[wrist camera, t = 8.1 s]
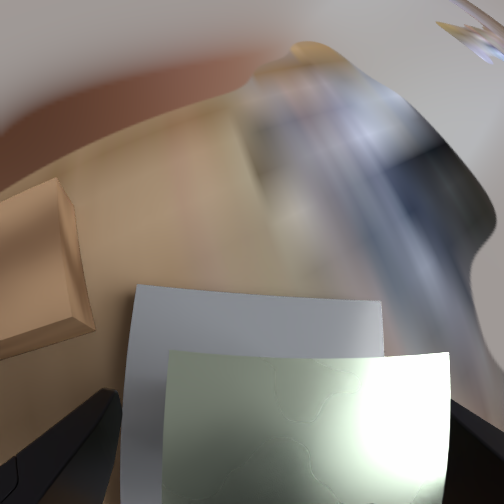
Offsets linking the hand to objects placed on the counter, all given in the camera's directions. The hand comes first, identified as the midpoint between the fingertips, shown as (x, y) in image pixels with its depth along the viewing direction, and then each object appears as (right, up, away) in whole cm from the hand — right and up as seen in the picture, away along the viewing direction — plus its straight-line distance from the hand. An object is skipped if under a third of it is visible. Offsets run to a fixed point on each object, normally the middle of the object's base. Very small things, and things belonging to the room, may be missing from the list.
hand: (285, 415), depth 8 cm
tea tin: (-1, -3, +5) cm, 6 cm away
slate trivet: (-1, -4, +6) cm, 7 cm away
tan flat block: (-15, +2, +7) cm, 17 cm away
